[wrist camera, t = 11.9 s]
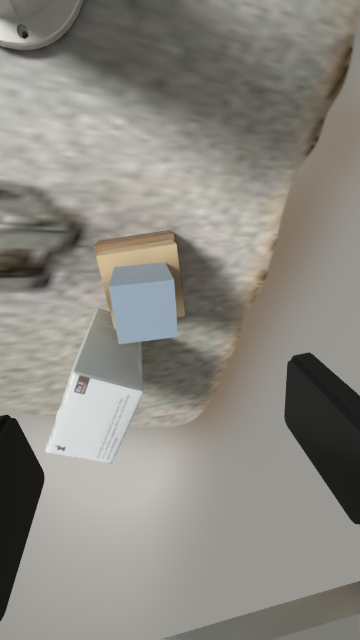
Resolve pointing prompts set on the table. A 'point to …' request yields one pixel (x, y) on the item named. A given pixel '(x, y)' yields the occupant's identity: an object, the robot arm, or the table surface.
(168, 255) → the oak slab
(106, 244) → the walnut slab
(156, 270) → the blue block
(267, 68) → the table surface
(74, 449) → the skincare box
